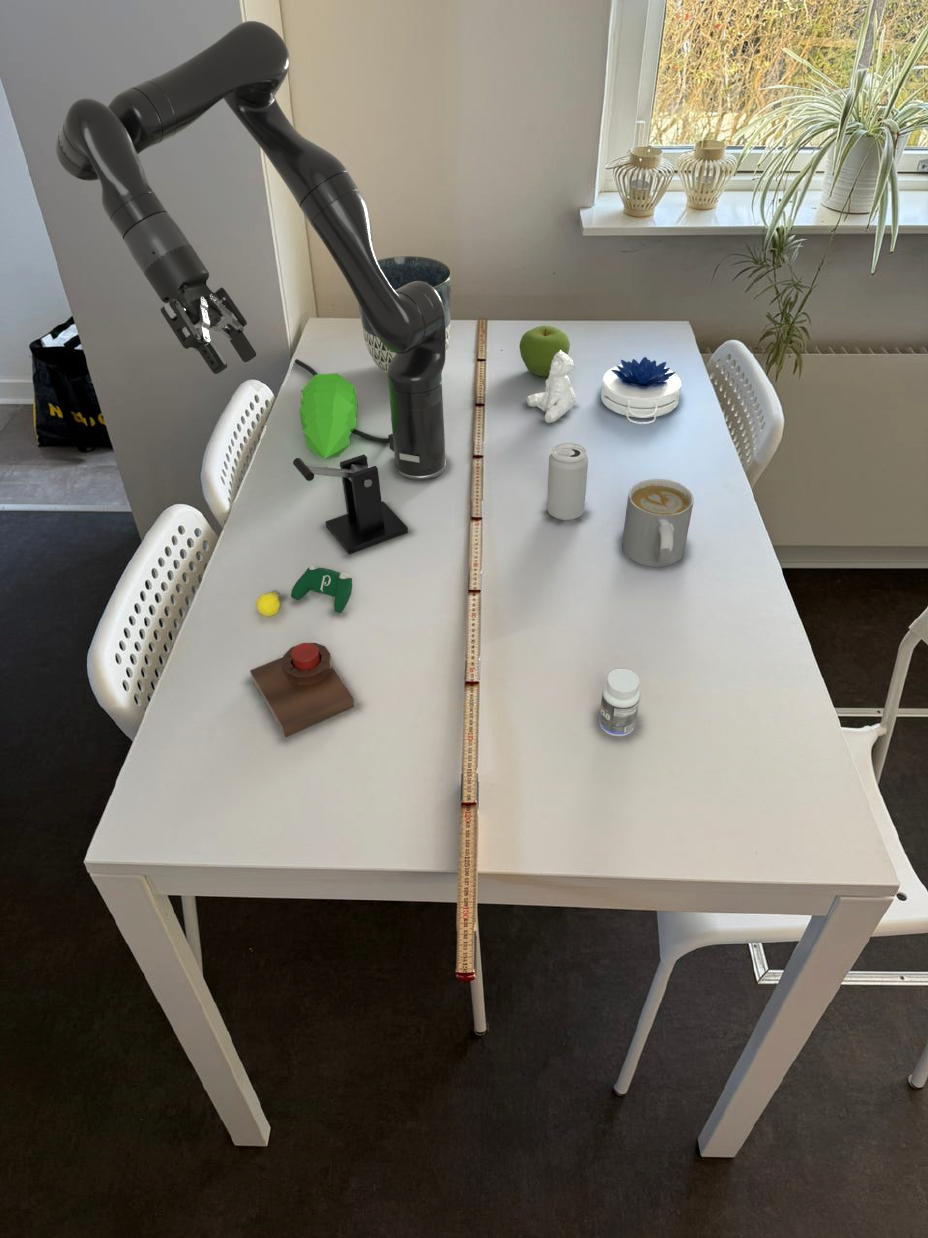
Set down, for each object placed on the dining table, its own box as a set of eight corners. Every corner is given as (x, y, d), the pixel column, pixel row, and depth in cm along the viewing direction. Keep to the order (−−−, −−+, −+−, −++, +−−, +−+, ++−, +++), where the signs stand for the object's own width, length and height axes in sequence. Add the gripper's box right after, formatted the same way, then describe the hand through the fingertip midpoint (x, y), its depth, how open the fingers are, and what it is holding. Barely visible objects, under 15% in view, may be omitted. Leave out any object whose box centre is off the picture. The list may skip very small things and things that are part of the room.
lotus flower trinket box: (604, 348, 177) (602, 395, 163) (681, 351, 176) (685, 399, 161) (602, 379, 182) (599, 427, 168) (676, 382, 180) (680, 431, 166)
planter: (454, 394, 179) (450, 292, 165) (361, 395, 180) (349, 294, 165) (455, 351, 193) (452, 254, 179) (369, 353, 194) (359, 256, 179)
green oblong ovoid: (341, 347, 169) (336, 419, 146) (369, 396, 176) (368, 472, 153) (291, 372, 171) (278, 446, 148) (321, 419, 178) (313, 497, 155)
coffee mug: (623, 526, 144) (630, 475, 137) (684, 532, 142) (693, 481, 136) (618, 577, 134) (625, 525, 128) (683, 584, 133) (693, 532, 126)
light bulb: (259, 622, 129) (249, 602, 127) (271, 605, 134) (262, 585, 133) (279, 617, 128) (270, 596, 126) (290, 600, 133) (281, 580, 132)
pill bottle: (595, 711, 114) (600, 667, 108) (630, 708, 114) (637, 664, 109) (602, 739, 111) (608, 695, 105) (638, 736, 111) (646, 692, 105)
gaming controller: (350, 615, 132) (361, 578, 132) (339, 613, 128) (350, 574, 128) (299, 600, 135) (310, 563, 135) (287, 597, 131) (298, 559, 131)
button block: (252, 681, 120) (247, 660, 117) (320, 653, 124) (316, 633, 121) (285, 737, 112) (280, 717, 110) (356, 706, 116) (352, 686, 113)
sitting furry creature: (524, 404, 175) (525, 348, 167) (560, 393, 178) (563, 338, 170) (548, 424, 169) (551, 367, 161) (585, 413, 172) (589, 357, 164)
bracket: (348, 554, 140) (339, 489, 132) (326, 527, 146) (315, 462, 137) (408, 532, 144) (402, 467, 136) (383, 506, 150) (376, 442, 141)
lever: (303, 483, 130) (307, 469, 129) (291, 468, 133) (294, 454, 132) (372, 489, 138) (376, 475, 136) (358, 474, 141) (362, 461, 140)
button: (289, 658, 118) (287, 649, 117) (313, 648, 119) (311, 639, 118) (299, 674, 116) (297, 665, 114) (324, 664, 117) (322, 654, 116)
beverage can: (582, 524, 145) (587, 463, 136) (544, 521, 146) (546, 460, 138) (585, 503, 149) (590, 442, 141) (548, 499, 150) (551, 439, 142)
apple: (521, 360, 190) (522, 316, 183) (569, 362, 188) (571, 318, 182) (516, 383, 182) (517, 338, 175) (566, 386, 180) (569, 340, 174)
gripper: (155, 246, 109) (231, 361, 113) (212, 238, 121) (278, 342, 125) (117, 278, 112) (192, 389, 116) (176, 268, 124) (242, 368, 129)
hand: (236, 364), depth 121 cm, fingers open, 8 cm apart
